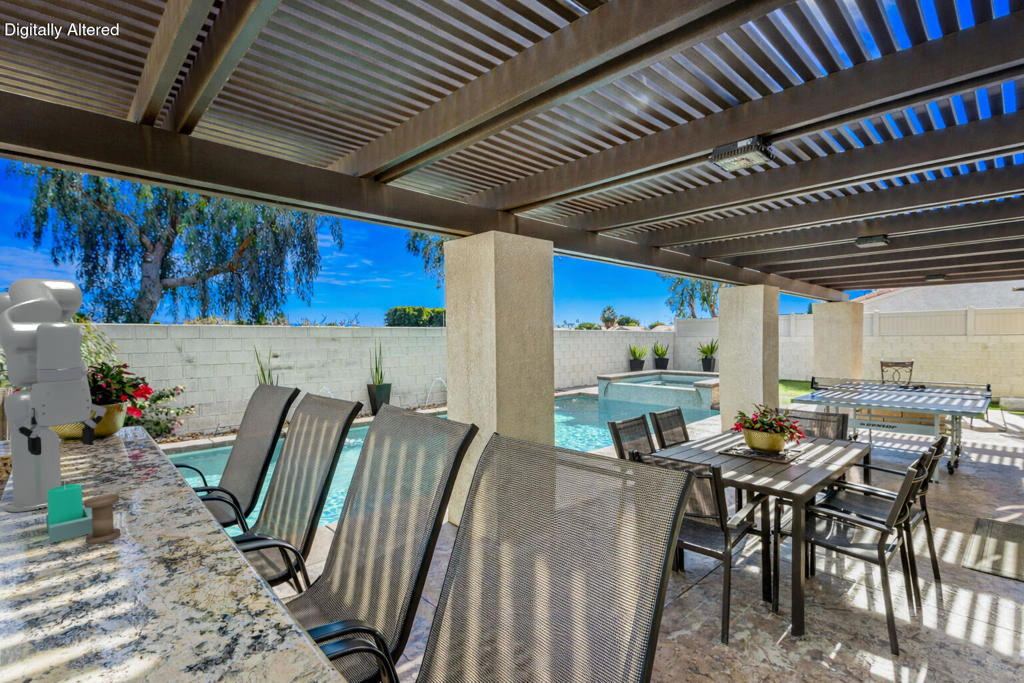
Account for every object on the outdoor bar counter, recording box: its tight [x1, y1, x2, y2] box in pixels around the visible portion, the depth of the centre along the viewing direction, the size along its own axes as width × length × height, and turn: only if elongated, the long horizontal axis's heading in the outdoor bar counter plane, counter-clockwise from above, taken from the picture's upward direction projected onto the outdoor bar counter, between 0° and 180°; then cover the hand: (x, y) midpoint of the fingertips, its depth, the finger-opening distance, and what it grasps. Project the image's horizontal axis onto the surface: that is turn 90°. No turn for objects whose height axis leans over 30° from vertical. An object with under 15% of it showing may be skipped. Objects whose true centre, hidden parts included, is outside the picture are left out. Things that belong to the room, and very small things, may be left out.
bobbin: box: [83, 493, 121, 545], centre depth 110 cm, size 6×6×9 cm
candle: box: [47, 480, 84, 525], centre depth 114 cm, size 6×6×12 cm
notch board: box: [45, 506, 93, 544], centre depth 115 cm, size 12×9×4 cm
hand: (62, 449), depth 113 cm, fingers open, 9 cm apart
